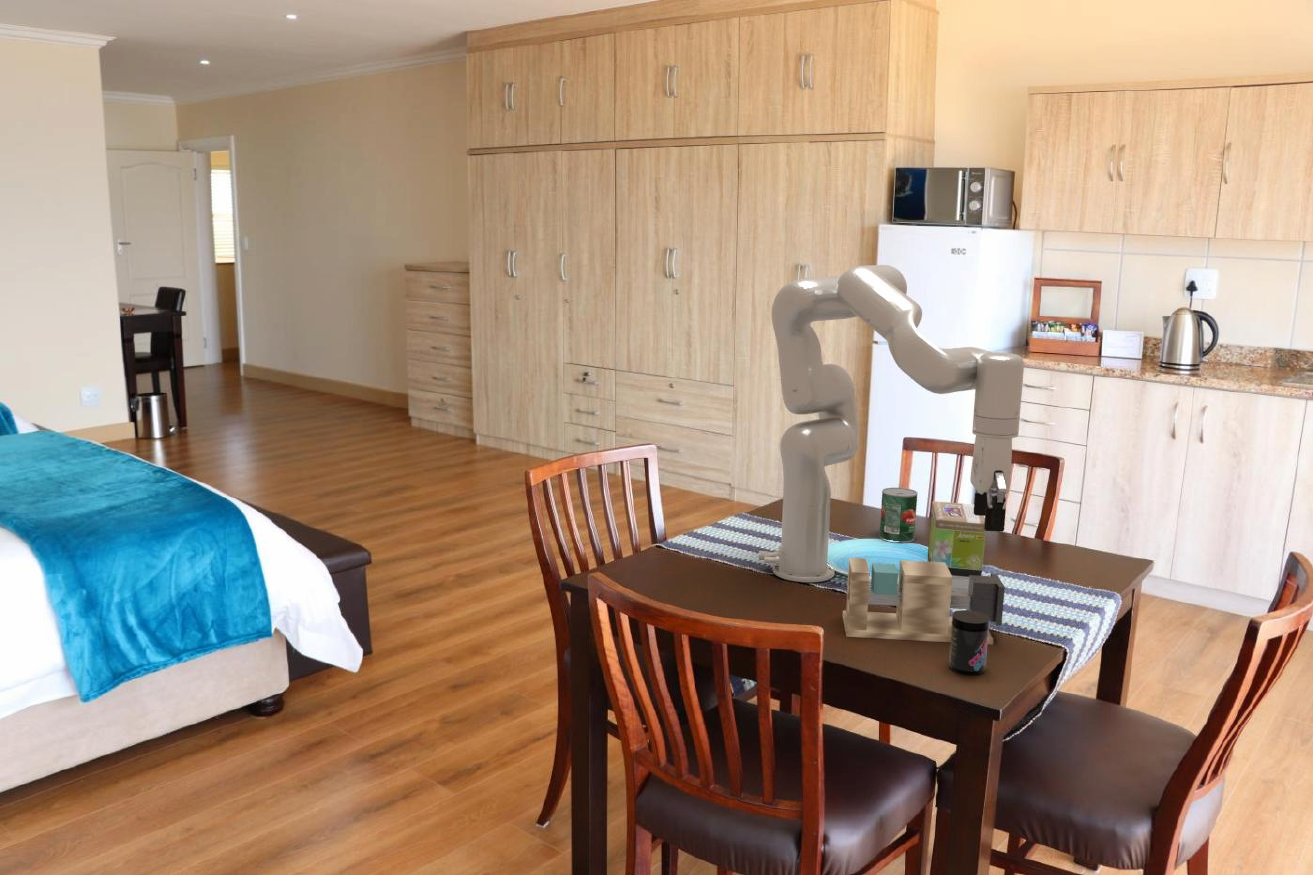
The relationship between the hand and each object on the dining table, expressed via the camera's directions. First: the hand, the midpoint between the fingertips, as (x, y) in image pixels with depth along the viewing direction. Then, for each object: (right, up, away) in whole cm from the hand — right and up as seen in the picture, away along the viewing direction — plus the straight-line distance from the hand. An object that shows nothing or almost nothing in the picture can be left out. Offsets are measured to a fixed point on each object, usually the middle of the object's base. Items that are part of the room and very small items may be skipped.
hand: (988, 522), depth 186 cm
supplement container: (-7, -23, -11) cm, 26 cm away
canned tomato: (-3, -8, +60) cm, 60 cm away
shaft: (-10, -17, +5) cm, 20 cm away
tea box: (+3, -14, +32) cm, 35 cm away
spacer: (-17, -12, +4) cm, 21 cm away
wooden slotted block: (-11, -19, +5) cm, 23 cm away
